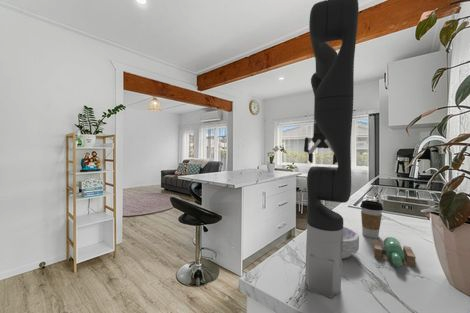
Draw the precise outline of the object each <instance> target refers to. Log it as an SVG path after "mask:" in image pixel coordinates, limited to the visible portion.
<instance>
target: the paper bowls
mask: <svg viewBox="0 0 470 313" xmlns="http://www.w3.org/2000/svg"><path fill="white" fill-rule="evenodd" d="M359 248H360V236H359V234H358V232H356V231H355V230H354V229H351V228H349V227H345V226H343V244H342V260H343V259H348V258H349V257H351V256H352V254H356V253H357V252H358V251H359Z"/></svg>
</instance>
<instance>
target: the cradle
mask: <svg viewBox="0 0 470 313" xmlns="http://www.w3.org/2000/svg"><path fill="white" fill-rule="evenodd" d="M402 250H403V252H404V259H403V260H402V265H404V266H405V265H406V266H410V267H414V268H415V267H416V255H415V253H414V251H413V249H412V247H411V246H409V245H408V246H406V245H403V248H402ZM373 255H374V259H375V258H376V259H380V260H384V261H389V262H392V263H393V261H392V260H390V259H389V258H388V257H387V255H386V251H385V249H383V248H382V245H381V240H377V239H373Z"/></svg>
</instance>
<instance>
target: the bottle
mask: <svg viewBox="0 0 470 313" xmlns="http://www.w3.org/2000/svg"><path fill="white" fill-rule="evenodd" d="M383 246H384V250H385V251H386V255H387V257H388V258H389V259H390V260H392V261H393V262H392V261H391V262H392V263H393V265H394V266H396V267H398V268H399V267H402V266H403V264H402V260H403V259H404V252H403V248H402V245H401V243H400V240H398V239H397V238H396V237H393V236H387V237H386V238H385V239H384V240H383Z"/></svg>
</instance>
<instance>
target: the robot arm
mask: <svg viewBox="0 0 470 313" xmlns="http://www.w3.org/2000/svg"><path fill="white" fill-rule="evenodd" d="M310 9H311V10H310V13H309V24H308V25H309V29H308V30H309V37H310V38H309V39H310V43H311V48H312V50H313V51H312V52H313V55H314V59H315V72H314V73H313V74H312V75H311V78H310V85H311V88H312V91H313V95H314V100H313V101H314V103H313V104H314V108H313V109H314V111H313V135H312V137H305V138H304V143H303V144H304V147H303V152H304V153H307V154H308V157H307V158H308V162H309V164H313V162H314V161H313V160H314V154H313V153H314V152H315V150H317V148H318V149H330V150H331V152H332V154H333V156H332V165H336V163H337V167H333V166H318V165H317V166H310V168H309V170H308V171H307V175H306V176H307V178H306V196H307V202H306V203H307V204H306V205H307V206H306V207H307V209H306V212H307V213H306V214H307V215H306V216H307V217H306V240H305V241H306V242H305V244H306V245H305V246H306V247H305V248H306V250H305V277H304V278H305V279H304V280H305V284H306V286H307V291H310V292H313V293H316V294H318V295H319V294H320V295H322V296H324V297H328V298H330V299H333V298H334V296H336V295H339V293H340V292H341V291H342V270H343V269H342V267H343V266H342V265H343V259H342V244H343V227H344V217H343V216H342V215H341V214H340V213H339V212H336V211H334V210H332V209H330V208H328V207H327V206H326V205H324V204H323V203H322V202H321V201H326V202H332V203H341V204H342V203H343V204H344V203H347V202H348V201H349V200H350V198H351V194H352V193H351V192H352V153H351V152H352V150H351V149H352V148H351V147H352V141H351V140H352V130H353V129H352V128H353V117H354V116H353V113H354V88H355V87H354V85H355V84H354V82H355V81H354V79H355V78H354V70H355V68H354V67H355V54H356V45H357V44H356V43H357V33H358V23H359V22H358V21H359V0H321V1H319V2H316V3H314V4H313V5H312V7H311V8H310ZM338 40H339V41H341V45H340V48H339V50H338V52H337V50H336V49H335V48H334V47H333V46H332V45H331V44H329V43H328V42H333V41H334V42H335V41H338ZM311 142H312V143H313V145H312V147H311V148H310V149H309V146H310V145H309V144H310V143H311Z"/></svg>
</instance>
